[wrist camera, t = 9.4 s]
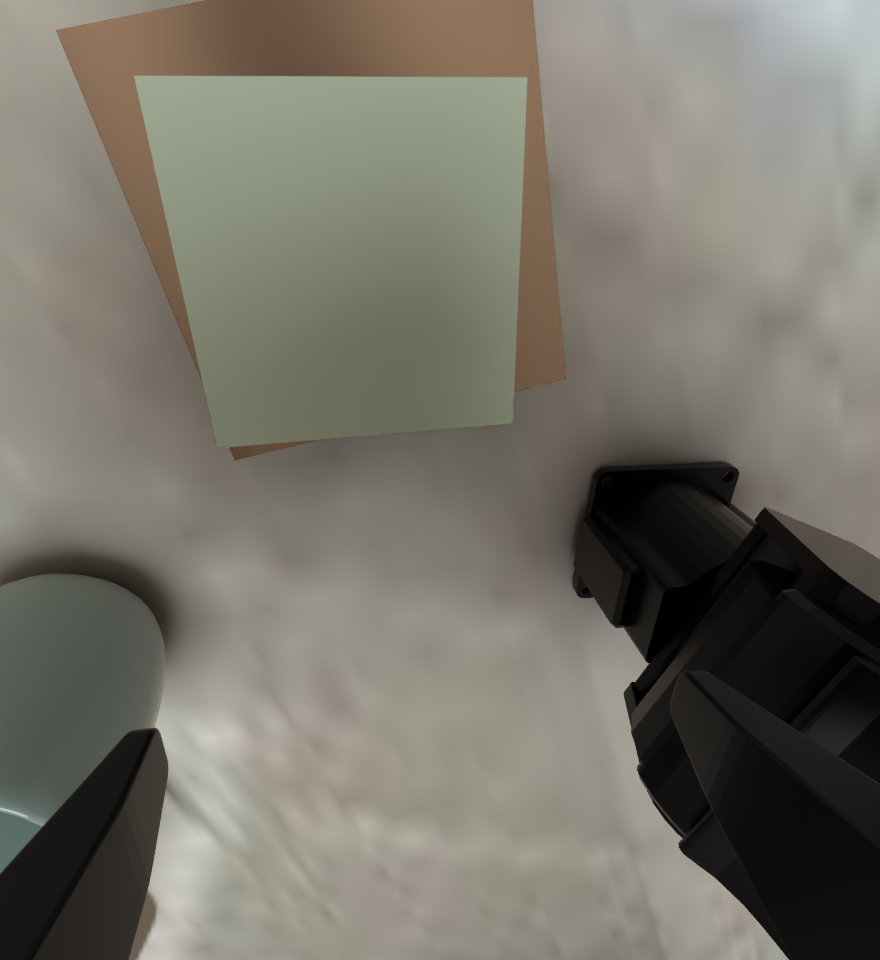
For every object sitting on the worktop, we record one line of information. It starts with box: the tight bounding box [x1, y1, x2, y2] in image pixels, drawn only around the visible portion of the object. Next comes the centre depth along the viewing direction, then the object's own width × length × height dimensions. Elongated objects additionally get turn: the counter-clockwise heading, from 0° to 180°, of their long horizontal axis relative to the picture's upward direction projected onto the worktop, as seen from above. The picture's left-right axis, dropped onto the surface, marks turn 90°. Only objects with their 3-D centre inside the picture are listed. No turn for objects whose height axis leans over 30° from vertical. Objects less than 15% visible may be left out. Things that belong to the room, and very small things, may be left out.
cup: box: [0, 573, 166, 873], centre depth 18 cm, size 8×8×10 cm
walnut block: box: [56, 0, 566, 460], centre depth 15 cm, size 9×9×6 cm
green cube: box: [134, 76, 528, 448], centre depth 11 cm, size 5×5×5 cm
